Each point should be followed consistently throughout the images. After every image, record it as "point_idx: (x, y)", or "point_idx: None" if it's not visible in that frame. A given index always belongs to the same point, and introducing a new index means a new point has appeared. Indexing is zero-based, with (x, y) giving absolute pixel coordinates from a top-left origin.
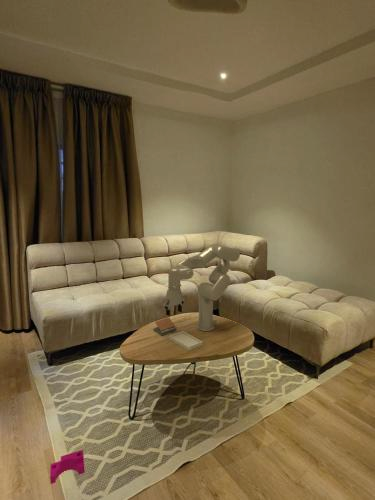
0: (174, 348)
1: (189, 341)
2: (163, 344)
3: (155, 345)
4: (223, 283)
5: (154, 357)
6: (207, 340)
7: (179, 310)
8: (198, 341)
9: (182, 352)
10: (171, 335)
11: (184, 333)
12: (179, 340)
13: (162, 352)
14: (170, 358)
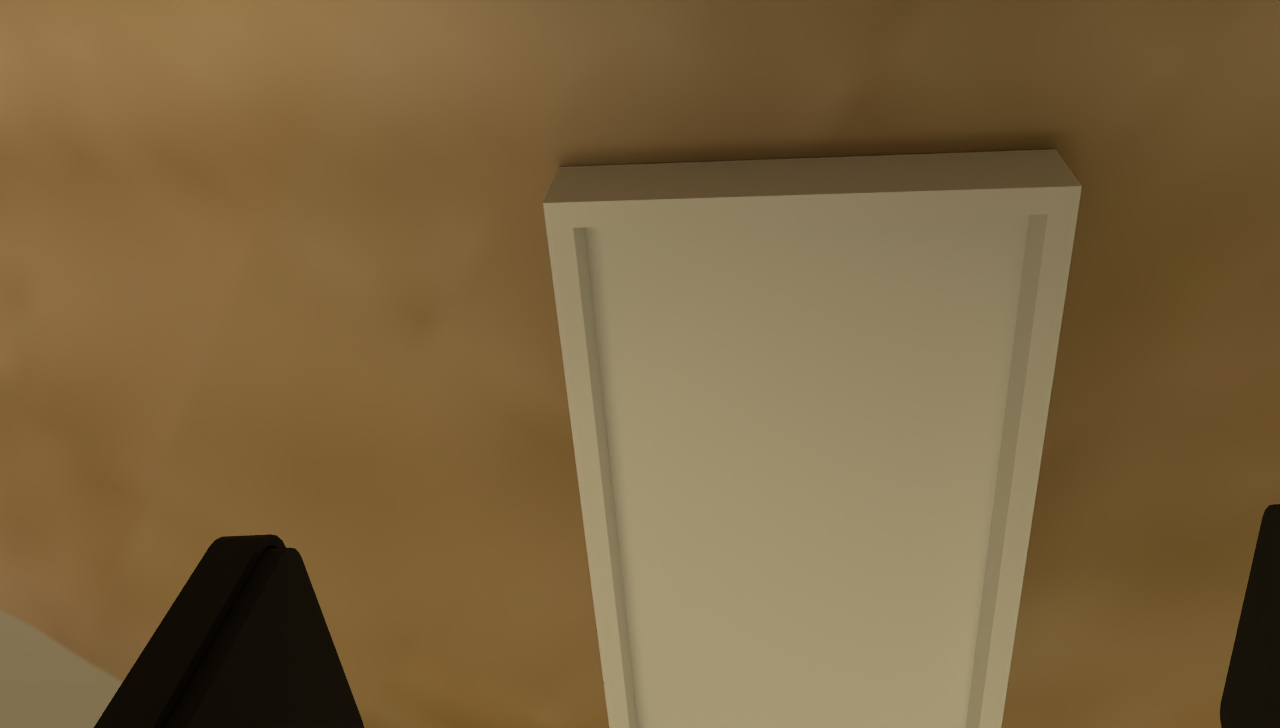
0: (453, 549)
1: (849, 576)
2: (318, 309)
3: (132, 243)
4: None
5: (5, 571)
6: (1212, 683)
7: (1275, 700)
8: (974, 700)
9: (509, 705)
10: (615, 226)
11: (1030, 280)
12: (697, 432)
13: (186, 531)
14: None
